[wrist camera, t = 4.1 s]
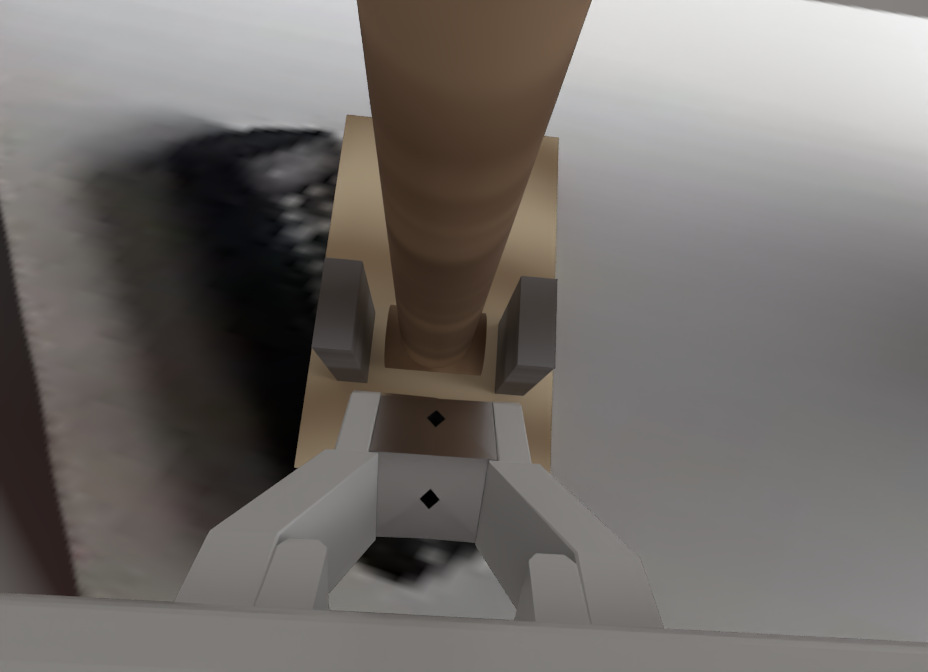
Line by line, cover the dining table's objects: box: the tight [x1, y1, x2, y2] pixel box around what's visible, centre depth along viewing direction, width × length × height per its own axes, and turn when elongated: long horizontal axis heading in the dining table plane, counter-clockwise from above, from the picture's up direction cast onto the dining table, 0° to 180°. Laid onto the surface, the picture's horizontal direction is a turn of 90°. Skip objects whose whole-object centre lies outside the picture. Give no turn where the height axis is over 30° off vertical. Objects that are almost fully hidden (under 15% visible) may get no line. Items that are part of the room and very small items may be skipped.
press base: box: [294, 115, 559, 473], centre depth 22 cm, size 16×10×8 cm, turn 176°
